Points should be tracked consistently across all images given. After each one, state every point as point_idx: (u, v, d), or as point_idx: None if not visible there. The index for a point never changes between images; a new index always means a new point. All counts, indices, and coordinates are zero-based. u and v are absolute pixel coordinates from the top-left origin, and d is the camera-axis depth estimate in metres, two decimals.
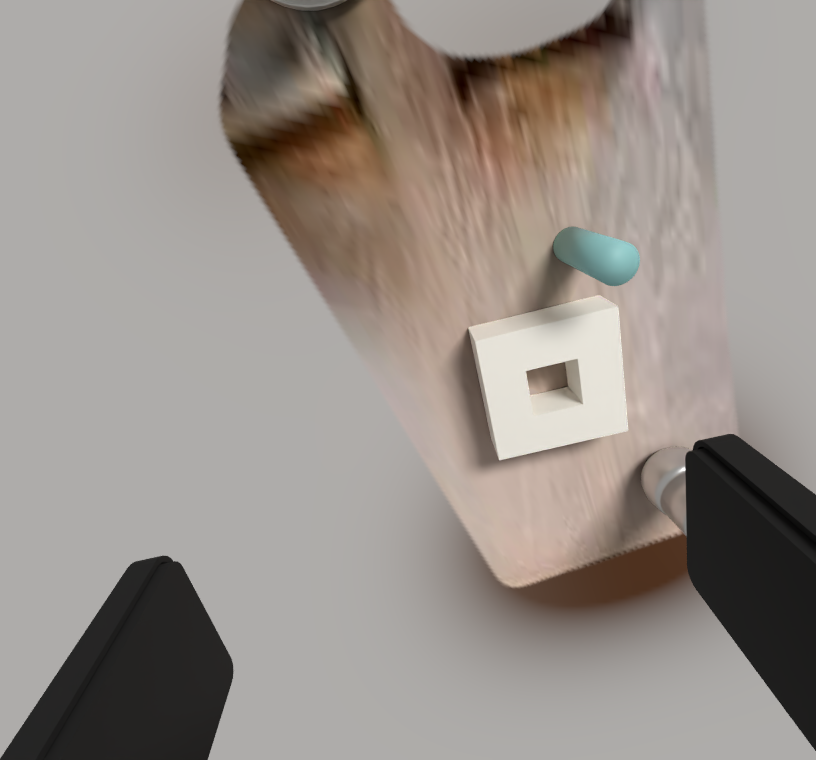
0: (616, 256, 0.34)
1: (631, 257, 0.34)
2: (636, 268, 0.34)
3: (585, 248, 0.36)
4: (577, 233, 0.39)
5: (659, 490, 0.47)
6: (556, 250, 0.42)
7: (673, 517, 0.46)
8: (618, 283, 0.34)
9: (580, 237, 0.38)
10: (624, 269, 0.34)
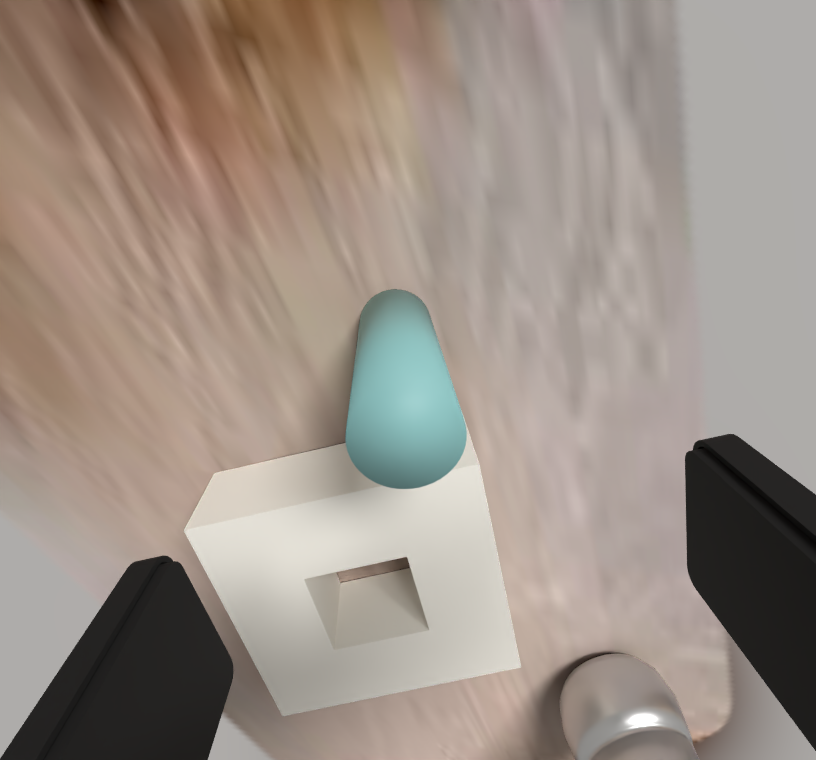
0: (401, 421, 0.12)
1: (442, 422, 0.12)
2: (460, 448, 0.12)
3: (355, 374, 0.14)
4: (378, 315, 0.17)
5: (584, 756, 0.26)
6: None
7: None
8: (416, 483, 0.13)
9: (371, 330, 0.16)
10: (427, 451, 0.12)
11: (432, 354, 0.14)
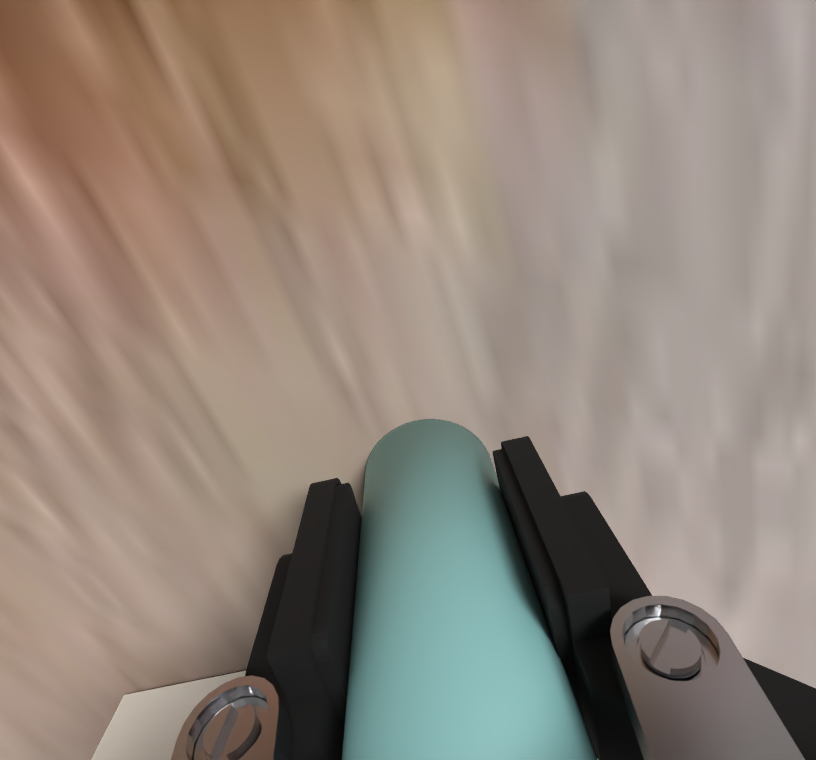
0: None
1: None
2: None
3: None
4: (402, 516, 0.08)
5: None
6: None
7: None
8: None
9: (389, 580, 0.07)
10: None
11: (568, 754, 0.05)
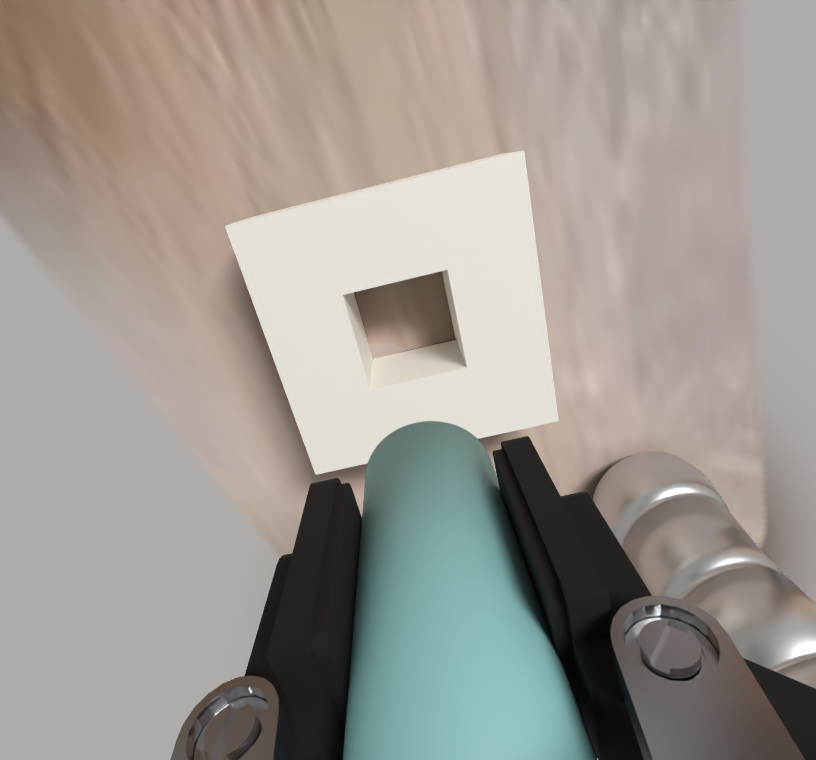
0: None
1: None
2: None
3: None
4: (403, 519, 0.08)
5: (620, 533, 0.26)
6: None
7: None
8: None
9: (390, 583, 0.07)
10: None
11: (569, 759, 0.05)
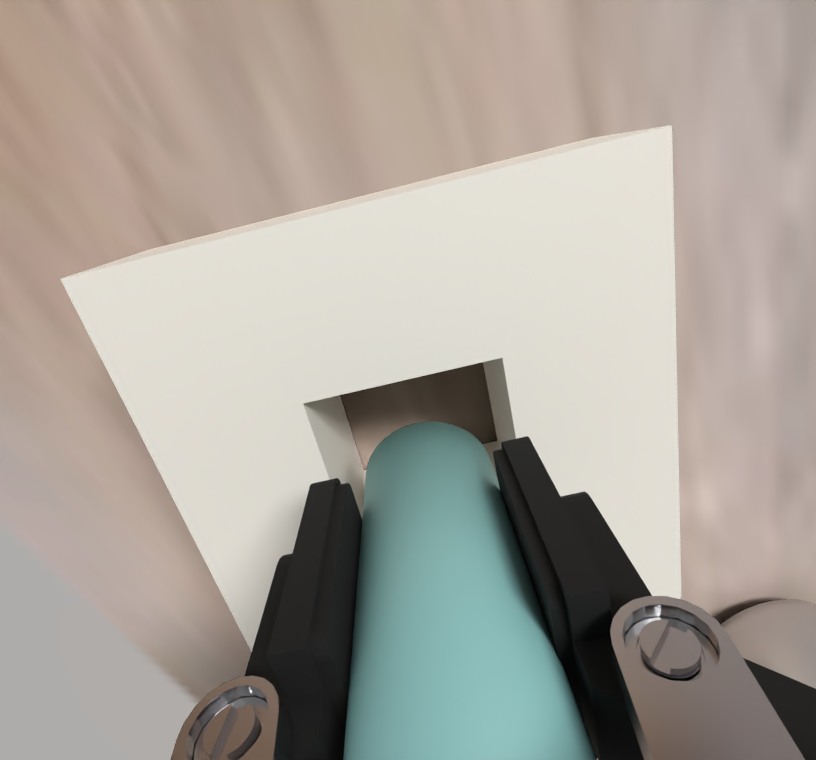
0: None
1: None
2: None
3: None
4: (403, 519, 0.08)
5: None
6: None
7: None
8: None
9: (390, 583, 0.07)
10: None
11: None
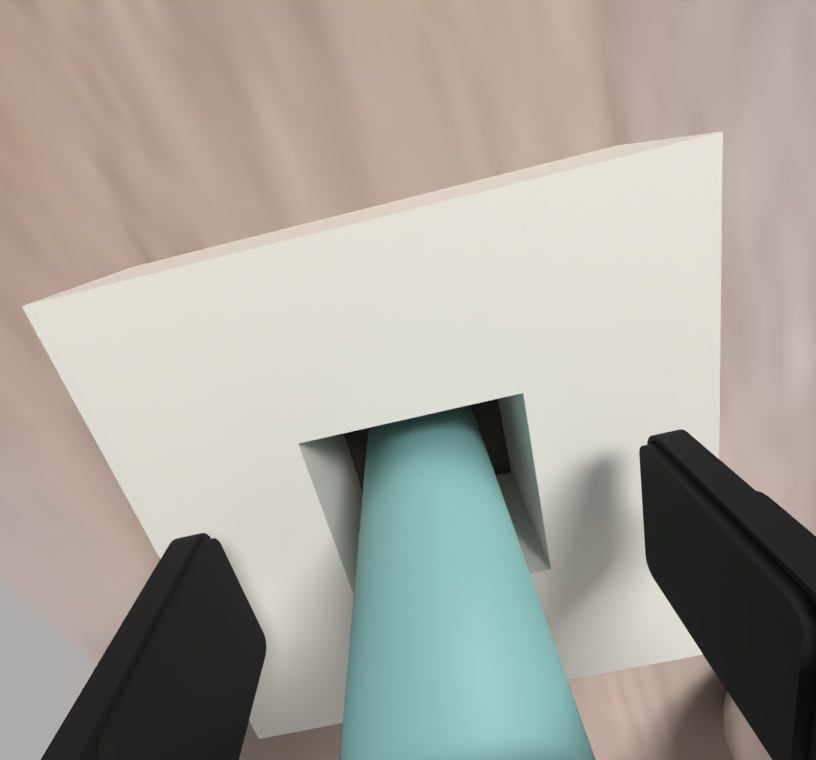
0: None
1: None
2: None
3: (360, 595, 0.08)
4: (398, 437, 0.11)
5: None
6: None
7: None
8: None
9: (388, 474, 0.10)
10: None
11: (507, 560, 0.07)
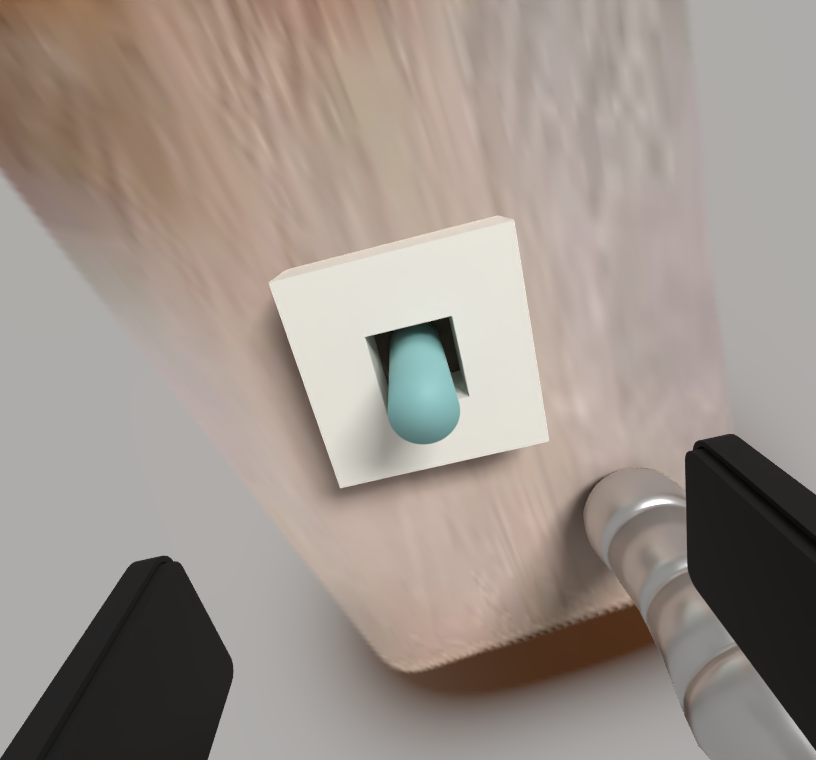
0: (420, 401, 0.20)
1: (445, 402, 0.20)
2: (456, 418, 0.21)
3: (391, 375, 0.23)
4: (404, 338, 0.26)
5: (606, 539, 0.29)
6: None
7: (626, 586, 0.27)
8: (430, 440, 0.21)
9: (400, 348, 0.25)
10: (436, 420, 0.21)
11: (440, 363, 0.23)
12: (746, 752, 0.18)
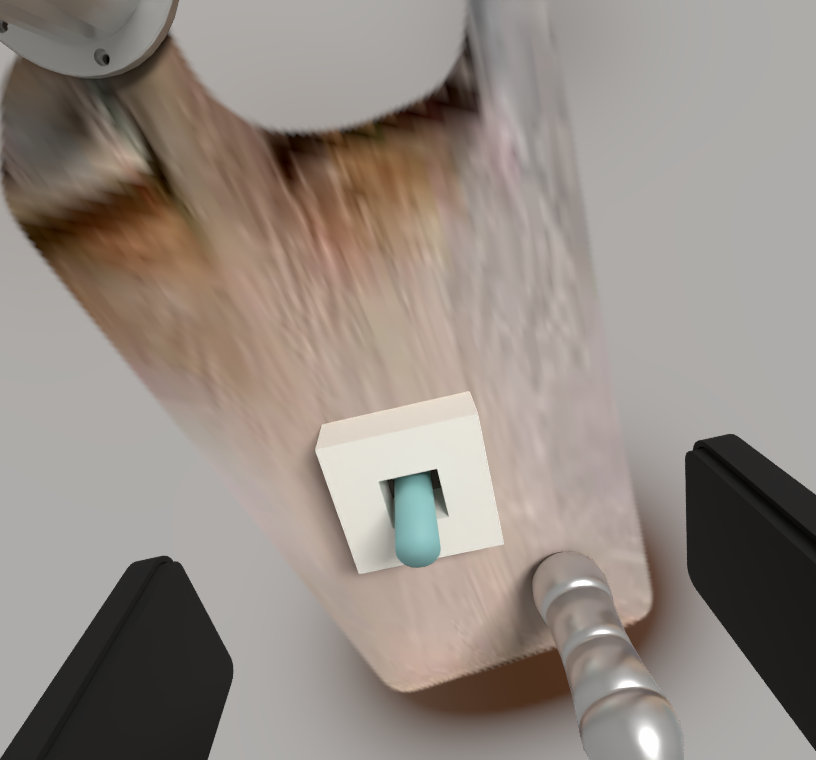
0: (416, 543, 0.33)
1: (431, 544, 0.33)
2: (438, 553, 0.33)
3: (397, 516, 0.35)
4: (404, 478, 0.38)
5: (545, 607, 0.42)
6: None
7: (555, 642, 0.40)
8: (421, 565, 0.33)
9: (402, 490, 0.37)
10: (426, 554, 0.33)
11: (428, 509, 0.35)
12: None
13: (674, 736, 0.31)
